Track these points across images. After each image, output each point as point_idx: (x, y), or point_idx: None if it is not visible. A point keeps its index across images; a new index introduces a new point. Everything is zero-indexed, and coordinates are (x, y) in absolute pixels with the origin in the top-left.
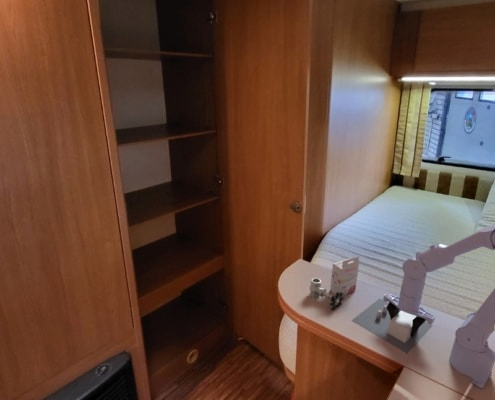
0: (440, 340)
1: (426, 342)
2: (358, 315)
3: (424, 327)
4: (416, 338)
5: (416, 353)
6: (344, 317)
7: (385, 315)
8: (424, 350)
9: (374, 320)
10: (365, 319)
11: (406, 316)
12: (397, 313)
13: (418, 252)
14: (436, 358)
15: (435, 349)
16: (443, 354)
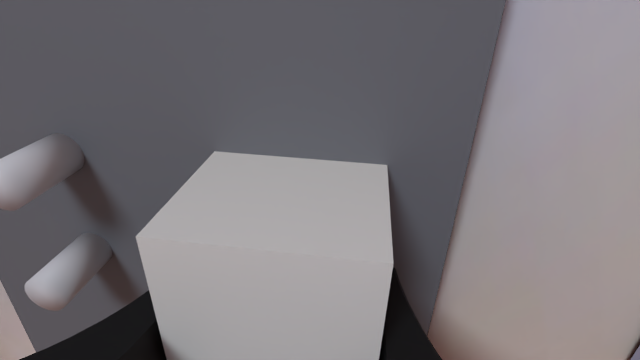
0: (609, 111)
1: (488, 223)
2: (18, 309)
3: (434, 84)
4: (414, 280)
5: (448, 352)
6: (2, 331)
7: (98, 187)
8: (490, 305)
9: (105, 292)
10: (70, 316)
11: (251, 343)
12: (160, 345)
13: None
14: (580, 324)
15: (567, 251)
16: (634, 263)
